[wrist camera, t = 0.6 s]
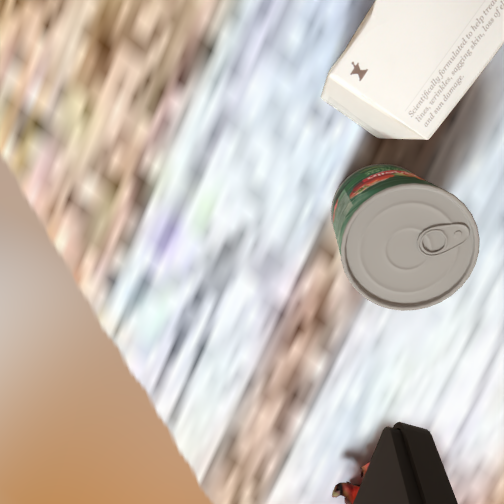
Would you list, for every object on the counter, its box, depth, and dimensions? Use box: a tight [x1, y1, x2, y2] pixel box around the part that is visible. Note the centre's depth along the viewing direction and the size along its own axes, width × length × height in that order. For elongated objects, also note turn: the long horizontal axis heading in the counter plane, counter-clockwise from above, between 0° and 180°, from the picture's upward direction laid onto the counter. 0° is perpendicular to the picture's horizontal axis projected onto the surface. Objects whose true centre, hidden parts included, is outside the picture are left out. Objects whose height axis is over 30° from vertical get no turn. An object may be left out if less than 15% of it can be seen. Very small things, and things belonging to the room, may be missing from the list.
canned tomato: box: [331, 164, 479, 311], centre depth 31 cm, size 8×8×11 cm
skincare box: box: [321, 0, 504, 140], centre depth 26 cm, size 8×6×15 cm
